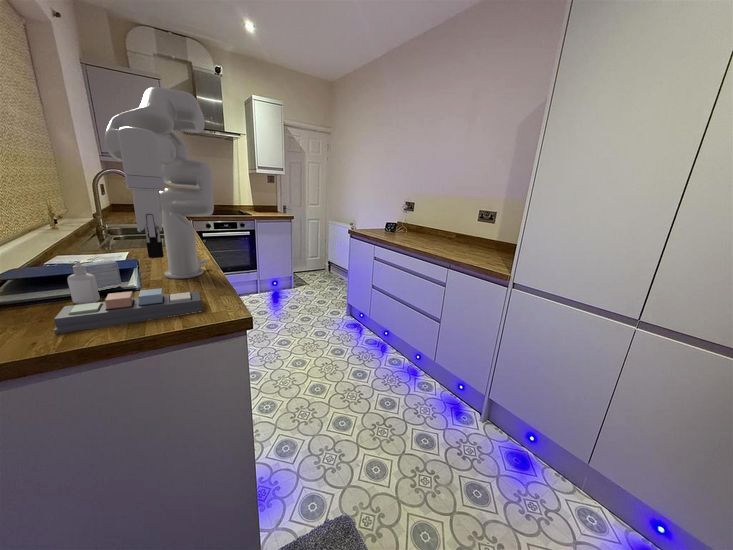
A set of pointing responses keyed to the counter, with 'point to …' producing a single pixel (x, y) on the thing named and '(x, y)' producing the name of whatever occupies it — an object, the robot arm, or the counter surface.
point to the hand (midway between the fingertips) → (156, 257)
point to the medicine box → (104, 272)
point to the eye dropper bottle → (83, 285)
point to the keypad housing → (125, 313)
